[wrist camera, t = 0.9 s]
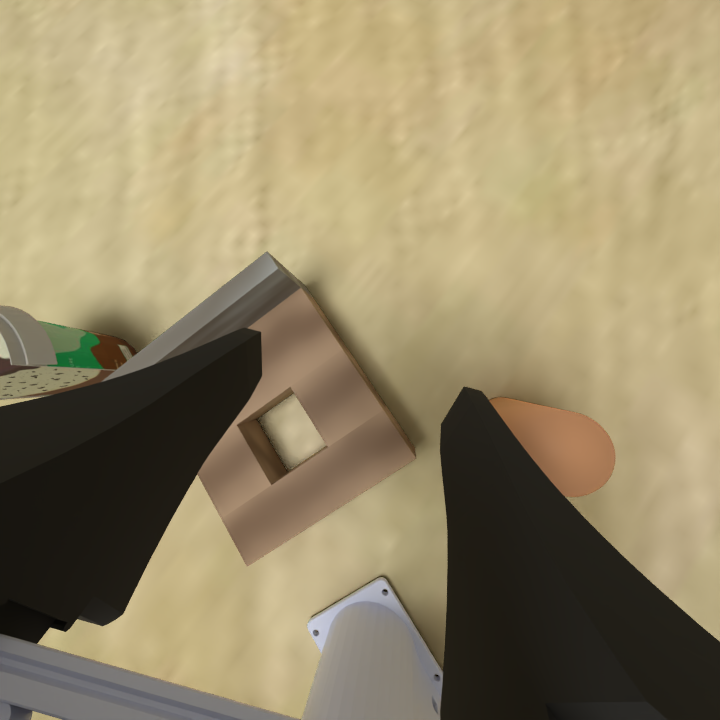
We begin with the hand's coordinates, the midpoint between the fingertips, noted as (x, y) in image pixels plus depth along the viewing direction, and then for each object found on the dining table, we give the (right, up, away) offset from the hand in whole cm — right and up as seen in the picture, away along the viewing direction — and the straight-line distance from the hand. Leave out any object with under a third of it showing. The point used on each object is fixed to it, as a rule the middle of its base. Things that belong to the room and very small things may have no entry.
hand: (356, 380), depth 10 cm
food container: (-27, +1, +19) cm, 33 cm away
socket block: (-7, -4, +15) cm, 17 cm away
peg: (+12, -4, +12) cm, 17 cm away
